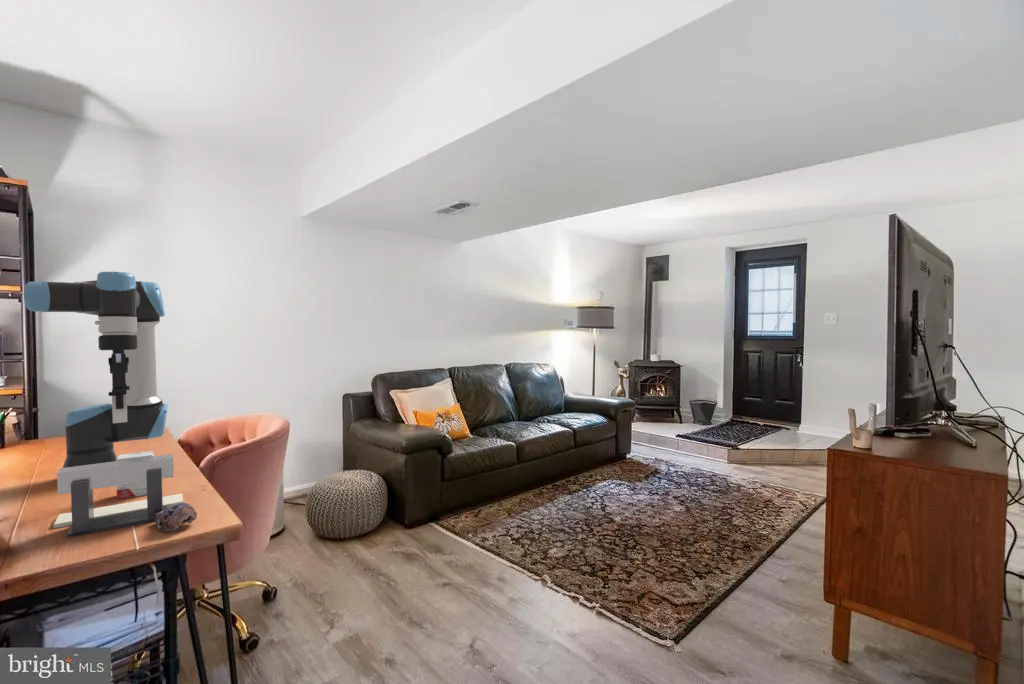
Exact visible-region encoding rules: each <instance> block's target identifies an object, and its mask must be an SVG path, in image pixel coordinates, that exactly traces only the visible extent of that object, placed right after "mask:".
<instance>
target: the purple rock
mask: <svg viewBox="0 0 1024 684" xmlns="http://www.w3.org/2000/svg"><path fill="white" fill-rule="evenodd" d="M197 516H198V512H197V511H196V510H195V508H194V507H193V505H191V504H189V503H187V502H183V503H180V504H176V505H174V506H171V507H169V508H167V509H166V510H165V511H161V512H159V513H157V514H155V521H154V523H155V525H156V529H159V530H161V531H162V532H163V533H164V532H166V533H169V532H172V531H173V532H174V531H176V530H178V529H179V528H180V526H182V525H183V524H186V523H188V524H191V523H193V522H194V521H196V519H197Z"/></svg>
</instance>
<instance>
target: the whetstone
mask: <svg viewBox="0 0 1024 684" xmlns="http://www.w3.org/2000/svg"><path fill="white" fill-rule="evenodd" d="M155 470H161V475H162V480H164V479H168V478H174V476H175V474H174V453H169V454H168V453H167V454H162V455H161V454H160V455H154V456H152V457H144V458H137V459H129V460H121V461H113V462H106V463H98V464H90V465H82V466H74V467H67V468H62V467H61V468H60V469H59V470H58V472H57V473H56V479H57V480H56V481H57V495H64V494H71V482H78V481H85V480H88V481H89V490H91V489H93V490H97V489H103V488H110V487H117V486H118V485H124V484H131V483H137V482H144V481H147V476H146V472H148V471H155Z"/></svg>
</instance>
